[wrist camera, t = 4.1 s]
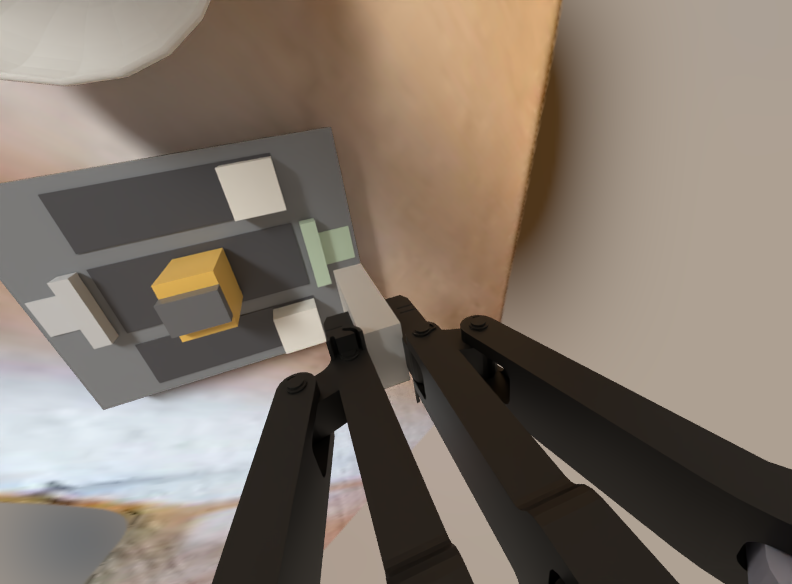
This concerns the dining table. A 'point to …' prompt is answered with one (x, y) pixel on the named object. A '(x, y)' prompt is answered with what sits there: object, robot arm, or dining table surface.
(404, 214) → the dining table surface
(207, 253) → the breaker handle
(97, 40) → the bowl
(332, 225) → the panel
